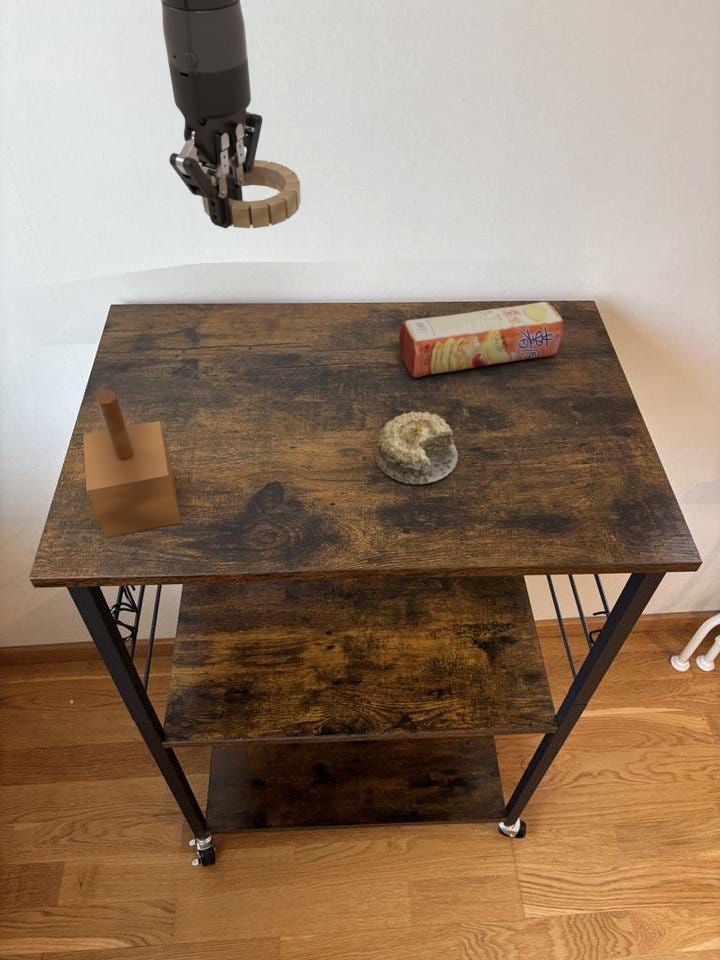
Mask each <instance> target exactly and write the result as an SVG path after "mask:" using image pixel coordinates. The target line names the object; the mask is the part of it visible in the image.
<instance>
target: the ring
mask: <svg viewBox="0 0 720 960" xmlns="http://www.w3.org/2000/svg"><path fill="white" fill-rule="evenodd" d="M211 178H212V183H215V184H216V179H215V177H213V176H211ZM248 186H259V187H267V188H270V189H273V190H277V191H278V193H277V194H276V195H273V196H270V197H268V198H264V199H259V200H250V201H249V200H243V201H237V200H233V199H230V198H229V205H230V214H231V222H232V224H231V225H230V226H229V227H232V226H233V228H240V229H241V228H242V229H250V228H251V226H252V229H258V228H266V227H270V225H271V226H275V225H278V224H280V223H283V222H286V221H287V220H289V219H290V218H291V217H293V216H294V215H295V214H296V213H297V212H298V211H299V208H300V205H301V201H302V199H301V198H302V197H301V181H300V179H299V177H298V175H297V173H296V172H295V171H294V170H292V169H290V168H289V167H288V166H286V165H285V166H284V164H281V163H278V162H275V161H269V162H268V160H262V159H261V160H260V159H255V160H254V165H253V170H252V172H251V173H246V174H245V175H244V183H243V185H242V187H248ZM201 203H202V206H203V210H204V213H205V214H206V215H207V216H208V217H210V213H209V207H208V200H207V198H205V197H202V196H201Z"/></svg>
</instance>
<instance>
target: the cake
mask: <svg viewBox="0 0 720 960" xmlns="http://www.w3.org/2000/svg"><path fill="white" fill-rule="evenodd" d="M450 427H451V426H450V425H449V424H447V420H445V419H444V418H443V417H441V416H440V415H438V414H436V413H433V414H431V413H429V411H425V412H421V411H418V412H417V411H410V412H404V413H403V414H400V415H397V416H395V417H393V419H392V420H389V421H387V422H386V423H385V424H384V426H383V427H381V429H380V431H379V435H378V437H377V443H376V444H375V449H374V455H373V456H374V461H375V462H376V464H377V467H378V468H380V470H381V471H382V473H384V474H385V475H386V476H387V477H389V478H391V479H393V480H396V481H397V482H400V483H404V484H406V485H408V484H409V485H425V484H426V485H428V484H430V483H436V482H438V481H441V480H443V479H444V478H446V477H447V476H449V475H450V474H451V473H452V472H454V471H453V470H454V469H456V466H457V464H458V459H459V452H458V450H457V447H456V445H455V444H454V443H455V441H454V440H453V439H454V438H453V434H454V432H453V430H452V429H451V428H450Z"/></svg>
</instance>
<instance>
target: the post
mask: <svg viewBox="0 0 720 960" xmlns="http://www.w3.org/2000/svg"><path fill="white" fill-rule="evenodd" d="M117 397H118V396H117V395H116V393H115V392H114V391H112V390H104V391H101V392H100V393H98V394H97V396H96V403H97V406H98V408H99V411H100V413H101V417H102V420H103V422H104V425H105V428H106V430H101V431H100V430H99V431H94V432H90V433H89V432H88V433H84V434H83V435H82V437H83V454H84V469H85V470H84V471H85V485H86V492H87V495H88V498H89V500H90V502H91V505H92V507H93V510H94V512H95V514H96V517H97V519H98V522H99V524H100V527H101V529H102V532H103V534H104V537H105V539H108V538H115V537H119V536H123V535H128V534H132V533H137V532H143V531H147V530H151V529H157V528H161V527H168V526H171V525H172V526H173V525H176V524H180V523H182V518H181V511H180V506H179V499H178V492H177V487H176V483H175V482H176V481H175V474H174V469H173V465H172V461H171V458H170V454H169V450H168V446H167V443H166V438H165V434H164V431H163V425H162V422H161V420H157V421H151V422H145V423H140V424H134V425H128V426H126V423H125V420H124V417H123V413H122V411H121V407H120V403H119V401H118V398H117Z"/></svg>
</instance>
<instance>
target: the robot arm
mask: <svg viewBox="0 0 720 960" xmlns="http://www.w3.org/2000/svg"><path fill="white" fill-rule="evenodd" d="M160 2H161V12H162V13H161V14H162V15H161V16H162V33H163V39H164V44H165V51H166V56H167V63H168V69H169V75H170V81H171V87H172V88H171V89H172V94H173V100H174V104H175V106H176V107H177V109H178V111H179V112H180V113H181V115H182V116H183V118H184V130H183V139H184V141H185V142H184V145H183V147H182V148H181V150H180V152H179V153H176V152H172V153H171V154H170V156H169V164H170V166H171V167H172V168H173V170H174V171H175V172H176V174H177V175H178V176H179V178H180V179H181V181H182V182H183V183H184V185H185V186H186V187H187V189H188V191H190V193H191V194H192V195H194V196H199V197H201V198H202V197H205V198H207V200H208V207H209V213H210V216H209V219H210V221H211V223H212V224H213V225H214V226H217V227H220V228H222V229H228V228H229V227H231V226H230V225H231V224H232V222H231V214H230V205H229V198H230V199H233V200H237V201H244V198H243V188H242V187H243V186H242V185H243V183H244V175H245V174H246V173H251V172H252V170H253V165H254V160H256V155H257V150H258V145H259V140H260V136H261V131H262V126H263V117H262V115H261V114H257V113H253V112H250V111H247V108H248V107H250V104H251V101H252V94H251V93H252V92H251V82H250V71H249V69H250V68H249V59H248V46H247V35H246V26H245V19H244V15H243V10H242V5H241V0H160ZM245 149H246V150H245ZM245 151H246V152H245ZM211 176H213V177H215V179H216V184H215V183H212V178H211Z"/></svg>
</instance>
